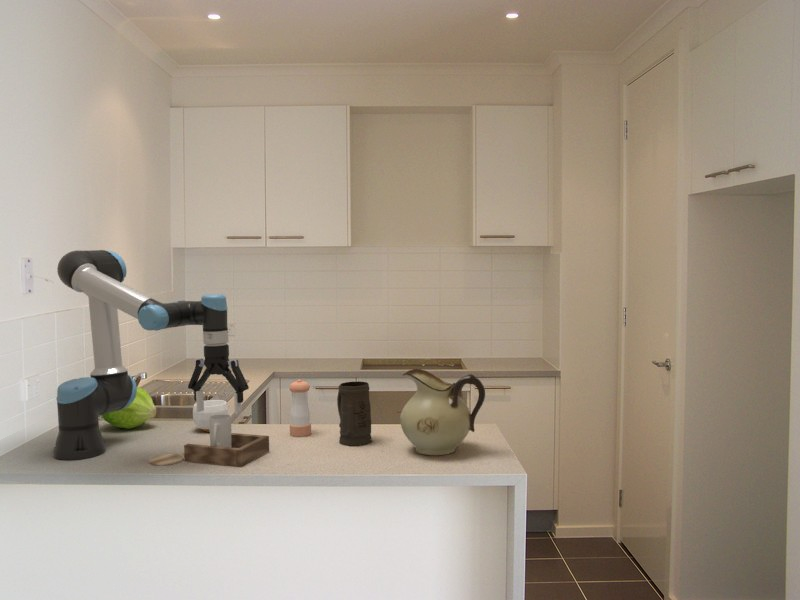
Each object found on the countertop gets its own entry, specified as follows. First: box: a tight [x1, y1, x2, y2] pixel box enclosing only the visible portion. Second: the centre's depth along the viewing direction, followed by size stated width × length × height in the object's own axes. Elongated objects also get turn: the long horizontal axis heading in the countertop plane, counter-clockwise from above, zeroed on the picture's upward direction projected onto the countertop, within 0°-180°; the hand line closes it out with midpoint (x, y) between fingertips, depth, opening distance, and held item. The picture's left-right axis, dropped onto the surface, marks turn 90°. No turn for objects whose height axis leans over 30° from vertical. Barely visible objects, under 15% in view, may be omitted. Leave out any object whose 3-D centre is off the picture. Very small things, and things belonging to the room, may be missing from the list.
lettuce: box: [101, 387, 157, 430], centre depth 255 cm, size 17×20×15 cm
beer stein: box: [336, 380, 373, 447], centre depth 232 cm, size 15×11×20 cm
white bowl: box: [192, 399, 229, 433], centre depth 250 cm, size 12×12×10 cm
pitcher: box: [399, 368, 486, 456], centre depth 219 cm, size 22×24×25 cm
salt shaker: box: [288, 379, 312, 438], centre depth 241 cm, size 7×7×19 cm
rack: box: [183, 432, 270, 468], centre depth 217 cm, size 20×17×5 cm
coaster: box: [148, 453, 185, 466], centre depth 213 cm, size 10×10×1 cm
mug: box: [209, 413, 232, 447], centre depth 217 cm, size 10×7×12 cm, turn 179°
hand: (219, 412), depth 217 cm, fingers open, 13 cm apart
